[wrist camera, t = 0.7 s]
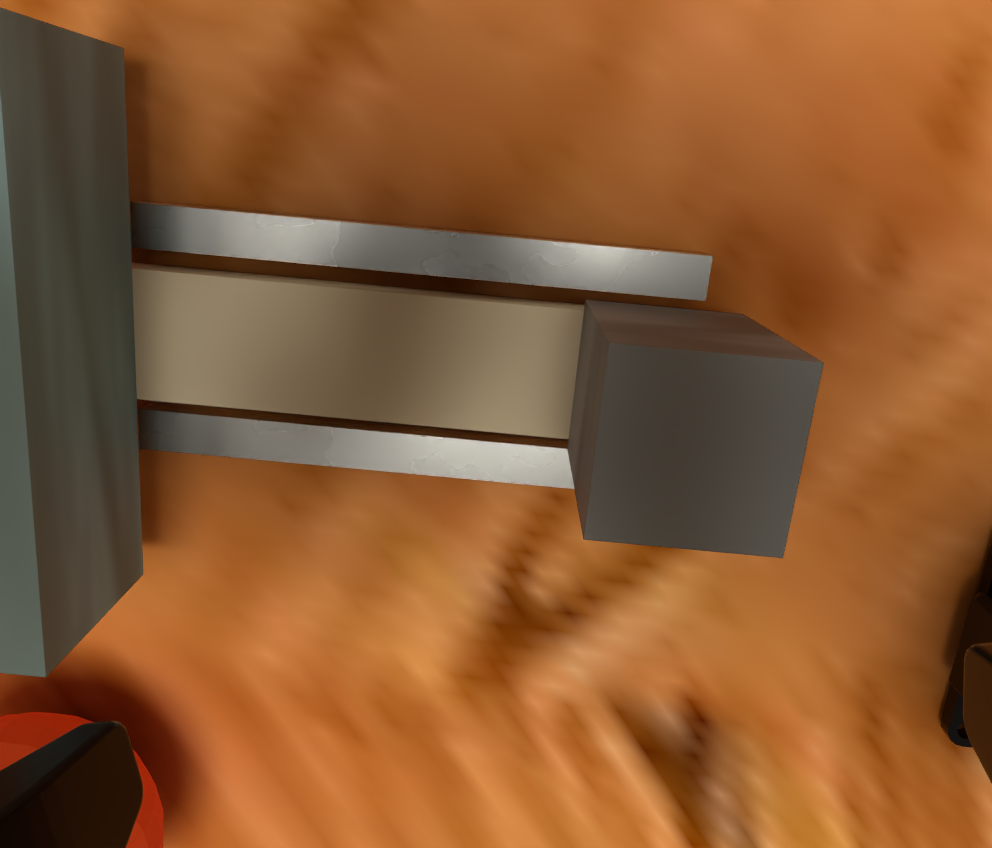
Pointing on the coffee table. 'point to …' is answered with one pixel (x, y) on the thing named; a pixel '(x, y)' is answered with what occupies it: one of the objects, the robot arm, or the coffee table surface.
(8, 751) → the clementine
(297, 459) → the track
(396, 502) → the coffee table surface
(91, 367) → the kicker
